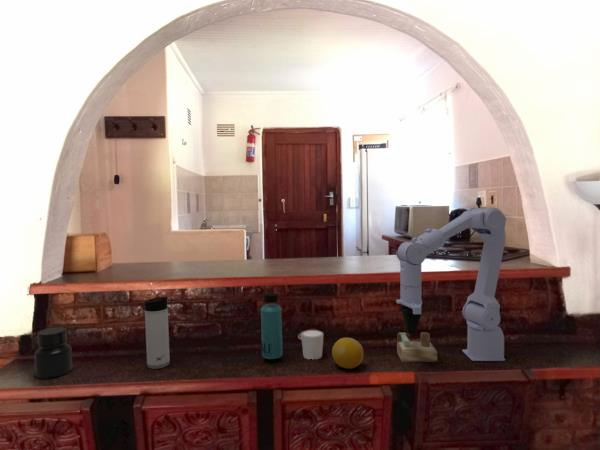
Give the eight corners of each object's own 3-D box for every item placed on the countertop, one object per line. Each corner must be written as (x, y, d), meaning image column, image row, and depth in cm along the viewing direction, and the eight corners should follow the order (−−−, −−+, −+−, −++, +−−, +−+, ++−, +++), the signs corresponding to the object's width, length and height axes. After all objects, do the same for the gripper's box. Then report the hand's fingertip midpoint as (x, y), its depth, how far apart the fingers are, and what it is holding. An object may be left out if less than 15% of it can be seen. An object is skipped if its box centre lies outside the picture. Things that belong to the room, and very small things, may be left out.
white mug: (324, 360, 117) (324, 337, 117) (301, 360, 118) (300, 337, 117) (323, 351, 124) (323, 329, 124) (301, 351, 124) (301, 329, 124)
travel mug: (163, 369, 113) (160, 300, 111) (142, 368, 114) (139, 299, 113) (174, 361, 119) (172, 295, 118) (154, 359, 120) (152, 294, 119)
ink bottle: (78, 364, 118) (75, 324, 117) (69, 376, 109) (66, 334, 109) (40, 368, 115) (38, 327, 115) (28, 381, 107) (26, 337, 106)
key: (405, 339, 124) (405, 332, 124) (410, 346, 117) (410, 340, 117) (399, 339, 124) (399, 332, 124) (403, 346, 117) (403, 340, 117)
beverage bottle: (284, 355, 121) (283, 291, 120) (281, 364, 115) (280, 296, 113) (263, 355, 122) (262, 291, 121) (259, 364, 115) (257, 296, 114)
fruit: (365, 362, 115) (364, 335, 115) (361, 374, 108) (361, 345, 107) (335, 359, 118) (334, 333, 117) (329, 371, 110) (329, 342, 109)
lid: (429, 343, 121) (429, 330, 121) (435, 351, 115) (435, 337, 115) (398, 343, 122) (398, 330, 121) (403, 351, 115) (403, 337, 115)
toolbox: (429, 351, 123) (429, 333, 122) (437, 361, 115) (437, 342, 114) (396, 351, 123) (396, 333, 122) (402, 362, 115) (402, 342, 115)
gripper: (391, 279, 119) (391, 324, 120) (402, 290, 105) (402, 341, 105) (415, 279, 119) (415, 324, 120) (429, 290, 104) (429, 341, 105)
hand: (410, 332), depth 112 cm, fingers closed
